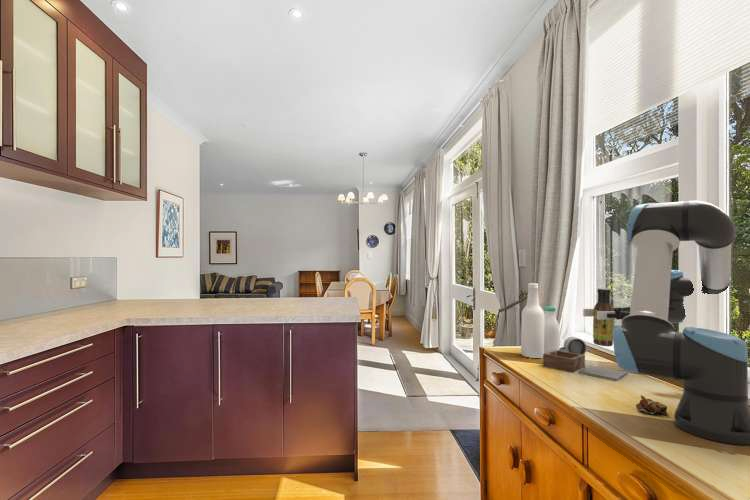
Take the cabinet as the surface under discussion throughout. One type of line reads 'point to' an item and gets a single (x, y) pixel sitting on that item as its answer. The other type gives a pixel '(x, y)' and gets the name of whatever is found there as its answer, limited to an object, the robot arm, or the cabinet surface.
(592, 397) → the cabinet surface
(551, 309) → the milk bottle
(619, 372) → the slate tile
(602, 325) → the sauce bottle
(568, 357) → the walnut collar
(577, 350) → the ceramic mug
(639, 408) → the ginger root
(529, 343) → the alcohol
